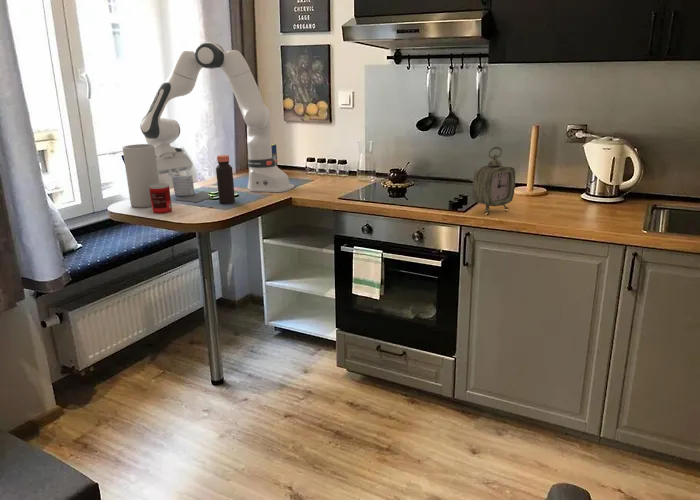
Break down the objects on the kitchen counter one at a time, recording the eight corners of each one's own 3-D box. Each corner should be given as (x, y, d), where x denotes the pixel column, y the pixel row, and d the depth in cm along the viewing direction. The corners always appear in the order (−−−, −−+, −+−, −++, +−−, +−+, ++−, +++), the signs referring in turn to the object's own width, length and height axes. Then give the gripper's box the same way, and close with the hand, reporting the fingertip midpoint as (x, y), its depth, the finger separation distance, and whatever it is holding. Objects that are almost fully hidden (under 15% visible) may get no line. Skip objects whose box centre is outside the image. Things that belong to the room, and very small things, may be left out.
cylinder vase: (145, 209, 237) (136, 148, 229) (124, 206, 243) (115, 147, 235) (167, 202, 247) (160, 144, 239) (147, 200, 253) (139, 143, 245)
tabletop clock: (486, 217, 213) (490, 150, 205) (469, 212, 220) (472, 147, 212) (513, 211, 220) (517, 146, 212) (495, 206, 227) (499, 143, 220)
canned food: (167, 208, 238) (163, 182, 234) (175, 211, 232) (172, 185, 228) (149, 211, 233) (145, 185, 229) (157, 215, 227) (153, 188, 224)
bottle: (216, 202, 246) (211, 155, 240) (230, 199, 250) (226, 154, 244) (223, 205, 241) (218, 157, 235) (238, 202, 245) (233, 155, 239)
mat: (222, 193, 262) (222, 193, 262) (196, 202, 247) (196, 201, 246) (202, 191, 267) (202, 191, 267) (175, 200, 252) (175, 199, 252)
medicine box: (195, 193, 262) (192, 175, 259) (191, 195, 258) (188, 176, 255) (178, 194, 263) (175, 175, 260) (174, 196, 259) (171, 177, 256)
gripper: (144, 153, 257) (157, 177, 253) (186, 148, 270) (198, 171, 266) (141, 162, 261) (154, 186, 257) (182, 156, 274) (195, 179, 271)
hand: (177, 178), depth 262 cm, fingers closed
